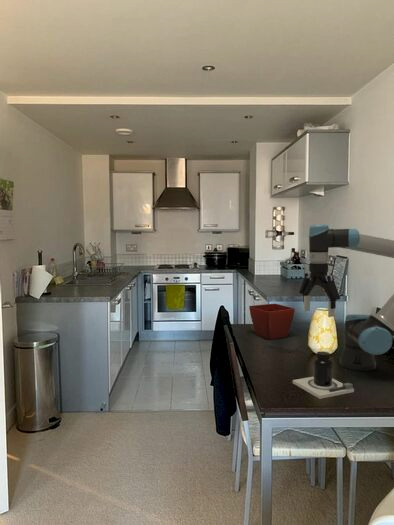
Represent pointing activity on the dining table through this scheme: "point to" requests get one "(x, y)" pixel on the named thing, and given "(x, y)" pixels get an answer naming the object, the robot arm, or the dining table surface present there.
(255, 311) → the plant pot
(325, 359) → the supplement bottle
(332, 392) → the record player
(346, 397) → the dining table surface
